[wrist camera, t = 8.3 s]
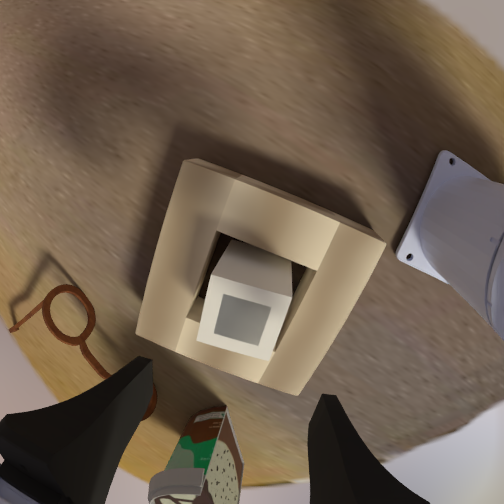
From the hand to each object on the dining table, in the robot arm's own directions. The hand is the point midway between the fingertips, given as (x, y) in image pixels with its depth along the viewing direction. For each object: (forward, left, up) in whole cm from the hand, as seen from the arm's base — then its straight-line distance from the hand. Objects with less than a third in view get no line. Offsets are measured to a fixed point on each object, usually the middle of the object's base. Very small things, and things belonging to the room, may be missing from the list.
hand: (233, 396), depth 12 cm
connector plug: (+1, -1, -10) cm, 10 cm away
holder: (+1, -1, -10) cm, 10 cm away
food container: (-1, +17, -10) cm, 20 cm away
